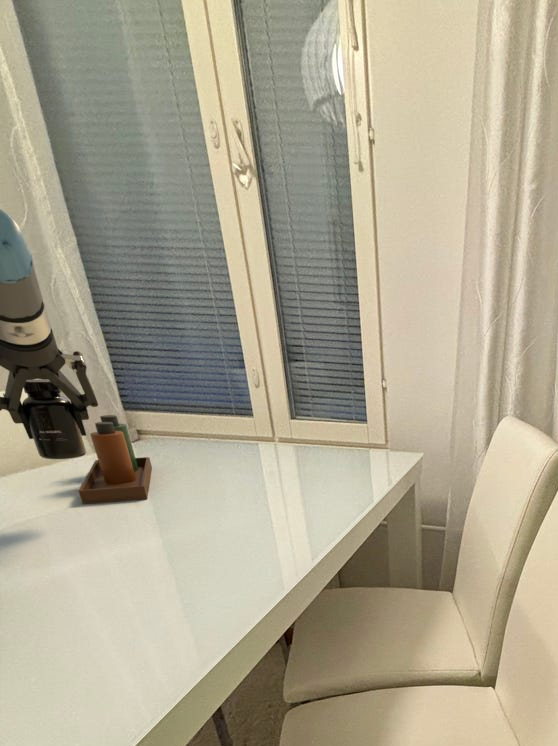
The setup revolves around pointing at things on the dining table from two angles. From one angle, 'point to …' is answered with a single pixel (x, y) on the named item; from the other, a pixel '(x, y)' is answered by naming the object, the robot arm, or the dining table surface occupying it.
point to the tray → (116, 485)
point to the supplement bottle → (52, 421)
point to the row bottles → (114, 450)
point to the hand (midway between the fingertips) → (56, 430)
